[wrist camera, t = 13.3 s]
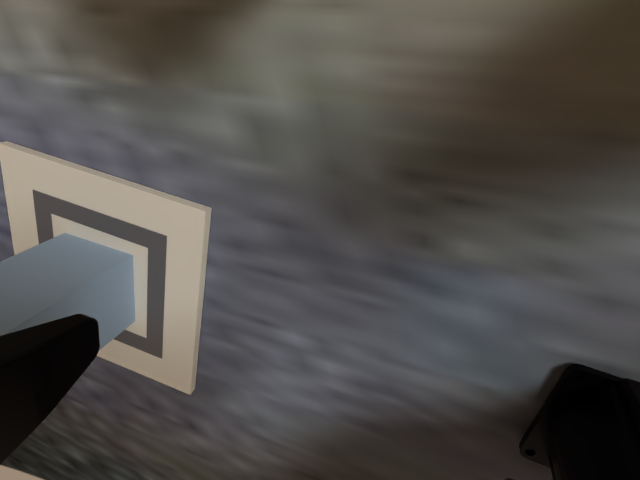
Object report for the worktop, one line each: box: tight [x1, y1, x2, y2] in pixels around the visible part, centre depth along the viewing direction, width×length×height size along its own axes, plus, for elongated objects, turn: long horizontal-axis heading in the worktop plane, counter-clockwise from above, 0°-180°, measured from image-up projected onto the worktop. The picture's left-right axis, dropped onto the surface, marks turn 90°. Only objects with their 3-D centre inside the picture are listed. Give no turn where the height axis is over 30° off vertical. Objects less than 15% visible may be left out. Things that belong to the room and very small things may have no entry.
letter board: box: [0, 141, 212, 395], centre depth 27 cm, size 14×14×1 cm
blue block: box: [0, 233, 135, 350], centre depth 22 cm, size 5×5×10 cm
